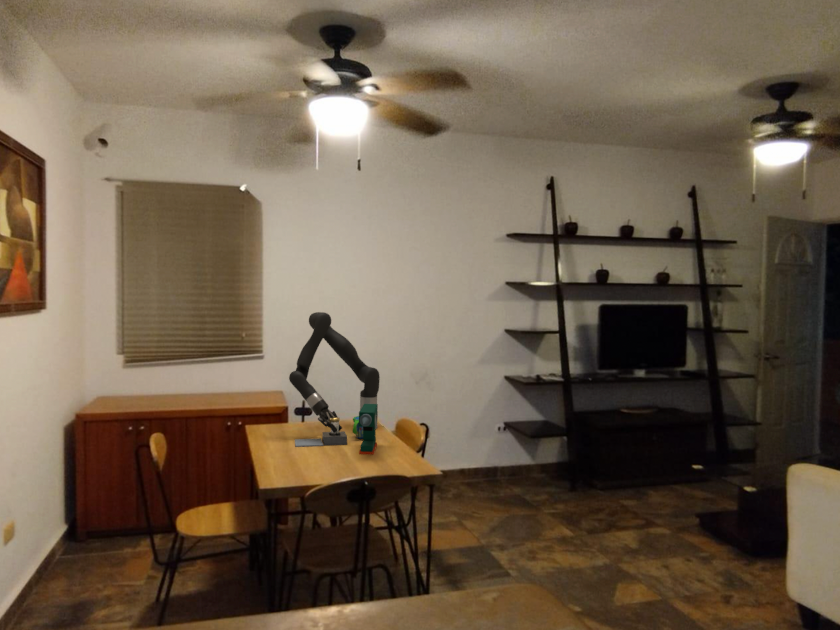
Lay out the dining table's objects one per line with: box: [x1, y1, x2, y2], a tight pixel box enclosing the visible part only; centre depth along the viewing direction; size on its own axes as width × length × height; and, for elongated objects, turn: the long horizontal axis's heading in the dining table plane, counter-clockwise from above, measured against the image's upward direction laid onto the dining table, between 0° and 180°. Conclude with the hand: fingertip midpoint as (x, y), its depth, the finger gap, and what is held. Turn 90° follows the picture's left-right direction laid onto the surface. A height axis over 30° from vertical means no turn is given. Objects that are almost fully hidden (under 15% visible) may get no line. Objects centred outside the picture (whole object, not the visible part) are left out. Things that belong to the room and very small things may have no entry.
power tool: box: [358, 403, 379, 455], centre depth 286 cm, size 32×7×20 cm, turn 179°
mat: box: [294, 437, 324, 448], centre depth 302 cm, size 13×13×1 cm
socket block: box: [321, 431, 348, 446], centre depth 304 cm, size 11×11×4 cm
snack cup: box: [352, 415, 363, 440], centre depth 316 cm, size 16×10×10 cm
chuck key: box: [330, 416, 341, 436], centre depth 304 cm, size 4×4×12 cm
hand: (338, 430), depth 304 cm, fingers closed on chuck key, 4 cm apart
